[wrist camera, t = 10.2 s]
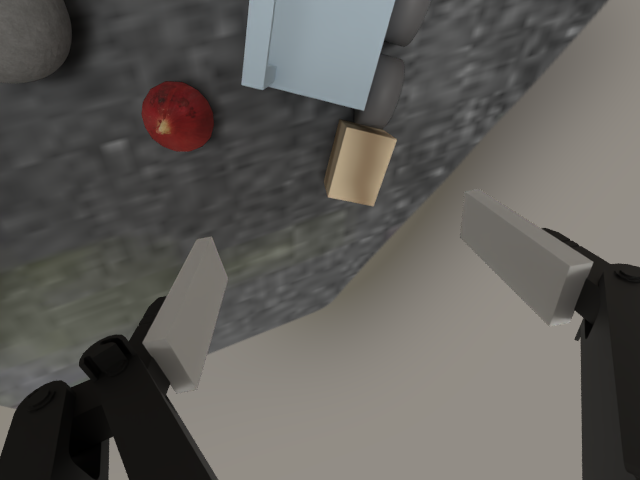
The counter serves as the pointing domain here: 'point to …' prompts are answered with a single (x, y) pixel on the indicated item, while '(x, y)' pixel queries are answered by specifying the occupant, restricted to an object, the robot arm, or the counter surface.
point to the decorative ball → (32, 39)
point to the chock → (358, 162)
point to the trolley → (332, 51)
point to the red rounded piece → (177, 116)
